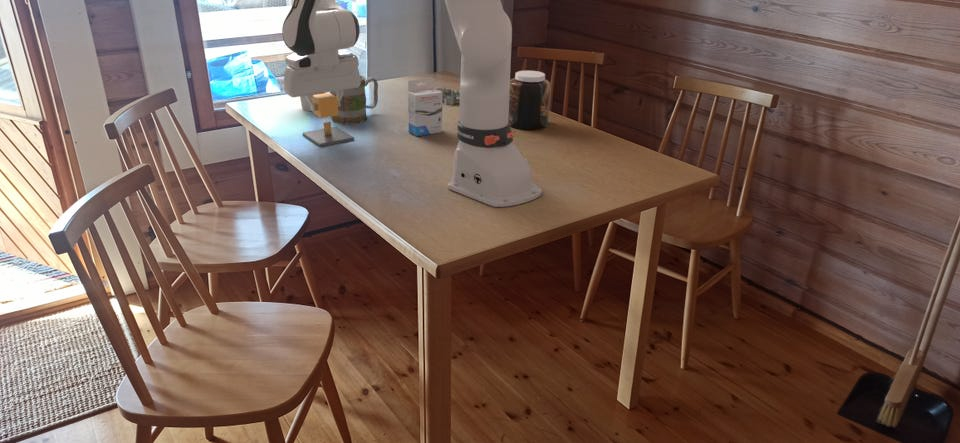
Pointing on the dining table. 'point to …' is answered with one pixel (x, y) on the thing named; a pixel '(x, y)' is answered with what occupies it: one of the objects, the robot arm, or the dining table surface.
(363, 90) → the mug
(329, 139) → the plate
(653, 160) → the dining table surface
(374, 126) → the dining table surface
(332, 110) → the orange cubic block
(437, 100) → the ink box
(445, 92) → the egg carton
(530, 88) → the jar
